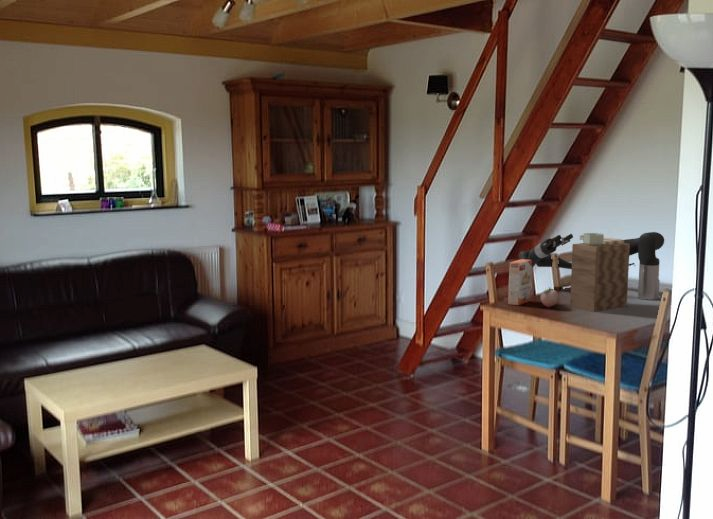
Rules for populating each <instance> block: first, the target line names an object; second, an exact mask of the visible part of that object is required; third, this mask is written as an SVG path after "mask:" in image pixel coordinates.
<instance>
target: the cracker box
mask: <svg viewBox="0 0 713 519" xmlns="http://www.w3.org/2000/svg"><path fill="white" fill-rule="evenodd" d="M532 268H533V267H532V260H526V259H521V260H519V259H518V260H514V261H511V262H509V267H508V269H509V270H508V271H509V272H508V274H509V275H508V294H507V296H508V297H507V298H508V299H507V305H510V306H516V305H517V306H521V305H524V304H527V303H529V302H531V291H532V289H531V288H532V271H533V270H532ZM517 306H516V307H517Z"/></svg>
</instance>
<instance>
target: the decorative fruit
mask: <svg viewBox="0 0 713 519" xmlns="http://www.w3.org/2000/svg"><path fill="white" fill-rule="evenodd" d="M539 298H540V301H541V303H542V305H544V306H545V307H547V308H548V309H550V308H551V307H553V306H555V305H557V304H558V302H559V301H560V294H559V293H558V291H556V290H555V289H554V288H551V286H549V288H547V289H545V290H544V291H542V292H541V294H540V296H539Z"/></svg>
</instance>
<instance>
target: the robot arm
mask: <svg viewBox="0 0 713 519" xmlns="http://www.w3.org/2000/svg"><path fill="white" fill-rule="evenodd" d="M573 238H574V235H573V233H570V234H568V235H566V236H563V237H562V236H561V234H558V235H556V236H555V237H552V238H547V239H545V240H544V241H542V242H540V243H539V244H537V245H536V246H535V247H533V248H531V249H530V250H522V251H520V252H519V253H518V260H521V259H526V260H532V268H534V266H535V265H536V266H537V267H538V268H553V267H552V259H551V255H553V253H554V252H556V251H557V248H558V247H560V246H564V245H566V244H568V243H570V242H571V239H573ZM623 240H624V243H627V244H630V250H629V257H630V256H633V255H635V254H637V255H638V256H637V257H638V260H639V264H638V265H639V267H638V268H639V270H638V283H637V284H638V289H637V298H638V299H641V300H646V299H647V301H649V300H650V301H652V300H653V301H654V300H658V299H659V297H660V296H659V295H660V262H661V261H660V259H659V258H658V257H657V256H656V251H658V250H660V249H661V248H662V247H663V246H664V244H665V238H664V235H663V234H661V233H660V232H656V231H651V232H644V233H642V234H641V235H640V236H639V237H636V238H629V239H623ZM558 257H559V258H558V260H559V264H558V267H557V268H559V269H567V270H572V262H569V261H567V260H565V259H563V258H561V257H560V256H558Z"/></svg>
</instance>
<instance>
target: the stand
mask: <svg viewBox="0 0 713 519" xmlns="http://www.w3.org/2000/svg"><path fill="white" fill-rule="evenodd" d="M571 247H572V249H571V250H572V251H571V252H572V253H571V263H572V269H571V273H570V274H571V277H570V302H569V303H570V304H569V306H571V308H574V307H575V309H579V310H584V311H589V312H591V313H592V312H593V313H594V312H600V311H606V310H607V311H608V310H612V309H618V308H625V307H627V306H628V289H629V287H628V286H629V270H630V269H629V268H630V266H629V264H630V256H629V250H630V244H627V243H621V244H612V245H607V244H602V245H601V246H588V245H584V242H581V243H572V246H571Z"/></svg>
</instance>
